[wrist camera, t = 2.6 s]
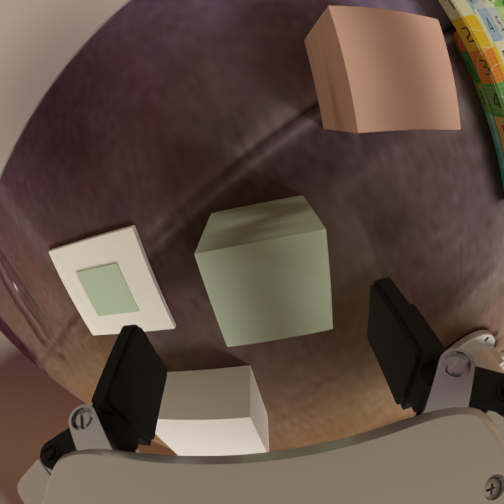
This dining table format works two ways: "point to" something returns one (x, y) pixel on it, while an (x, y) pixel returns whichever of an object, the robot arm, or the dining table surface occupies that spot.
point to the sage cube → (267, 271)
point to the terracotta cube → (381, 71)
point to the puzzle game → (483, 57)
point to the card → (112, 282)
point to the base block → (213, 413)
